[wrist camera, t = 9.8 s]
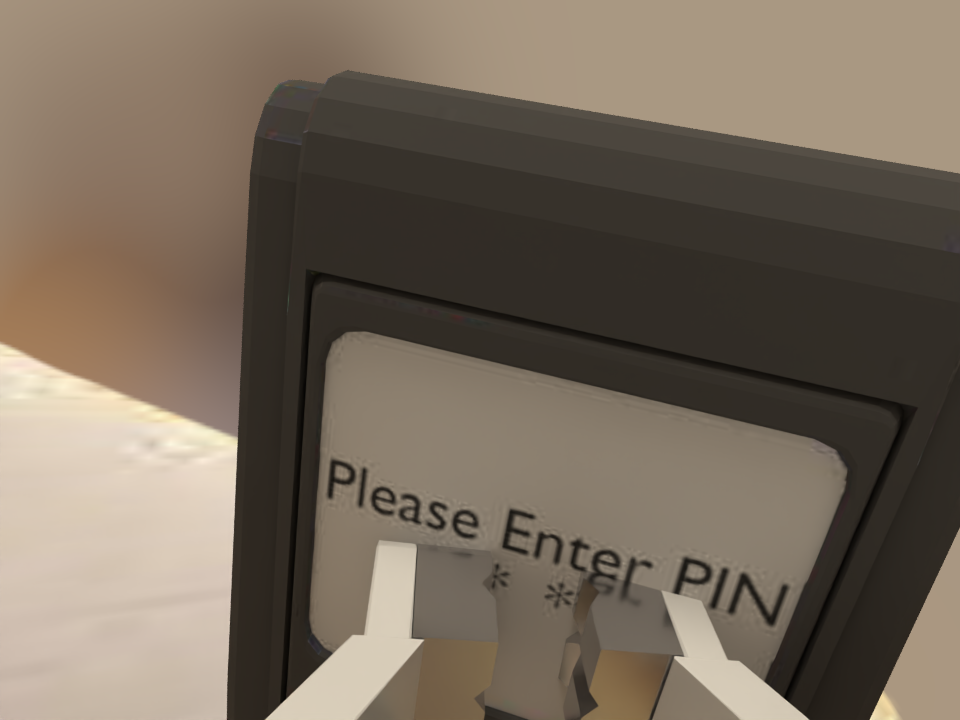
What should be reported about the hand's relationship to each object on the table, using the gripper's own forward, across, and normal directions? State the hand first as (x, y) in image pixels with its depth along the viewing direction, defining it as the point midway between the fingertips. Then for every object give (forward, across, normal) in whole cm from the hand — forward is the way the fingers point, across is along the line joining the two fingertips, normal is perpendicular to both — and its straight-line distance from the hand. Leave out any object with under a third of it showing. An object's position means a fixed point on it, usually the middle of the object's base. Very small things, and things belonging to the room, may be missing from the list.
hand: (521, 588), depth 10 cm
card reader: (0, 0, +9) cm, 9 cm away
